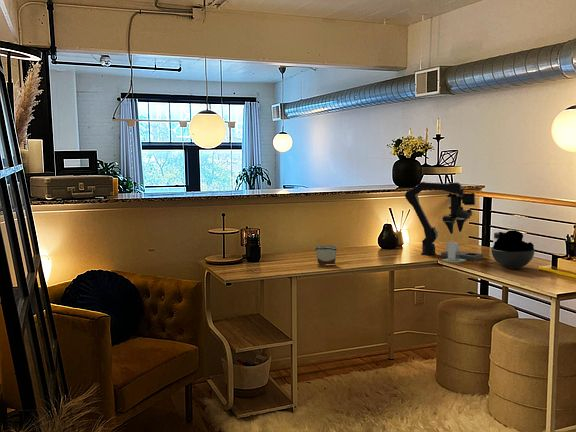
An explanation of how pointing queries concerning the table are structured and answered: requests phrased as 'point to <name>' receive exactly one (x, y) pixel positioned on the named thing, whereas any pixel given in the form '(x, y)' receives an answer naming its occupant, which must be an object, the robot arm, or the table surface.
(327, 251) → the food container
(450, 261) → the mat
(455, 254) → the block
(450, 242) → the block
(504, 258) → the bowl of black rocks
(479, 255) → the rail
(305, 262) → the table surface
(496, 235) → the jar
